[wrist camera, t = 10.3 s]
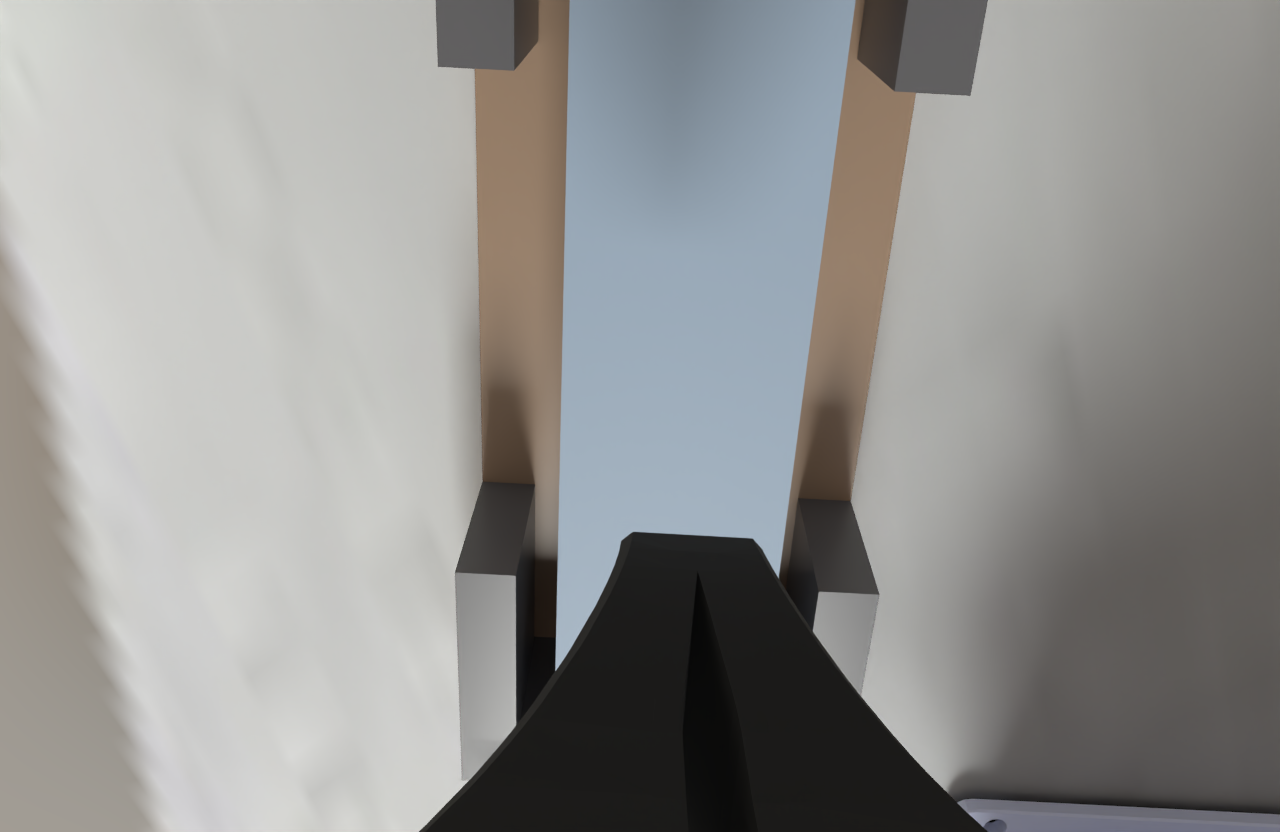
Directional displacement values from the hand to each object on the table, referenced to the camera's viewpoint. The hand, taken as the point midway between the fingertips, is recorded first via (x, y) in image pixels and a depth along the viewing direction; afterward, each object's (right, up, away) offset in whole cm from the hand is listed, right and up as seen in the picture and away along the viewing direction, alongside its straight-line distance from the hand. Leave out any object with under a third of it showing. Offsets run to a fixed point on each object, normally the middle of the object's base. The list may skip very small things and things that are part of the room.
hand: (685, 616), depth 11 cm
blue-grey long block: (0, +4, +7) cm, 9 cm away
